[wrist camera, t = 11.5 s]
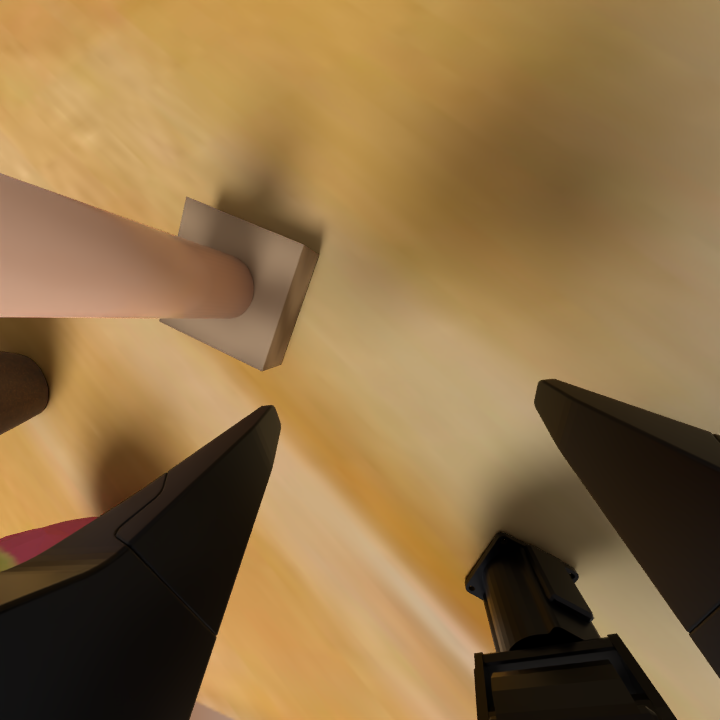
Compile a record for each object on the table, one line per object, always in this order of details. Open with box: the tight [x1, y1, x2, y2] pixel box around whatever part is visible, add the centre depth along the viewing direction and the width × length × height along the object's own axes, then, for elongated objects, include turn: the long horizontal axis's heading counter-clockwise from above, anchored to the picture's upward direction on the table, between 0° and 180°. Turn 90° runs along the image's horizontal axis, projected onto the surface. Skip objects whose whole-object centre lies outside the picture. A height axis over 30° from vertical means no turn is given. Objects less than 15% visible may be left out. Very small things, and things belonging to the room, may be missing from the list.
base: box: [159, 197, 319, 371], centre depth 21 cm, size 10×10×3 cm
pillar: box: [0, 173, 254, 319], centre depth 13 cm, size 5×5×13 cm
